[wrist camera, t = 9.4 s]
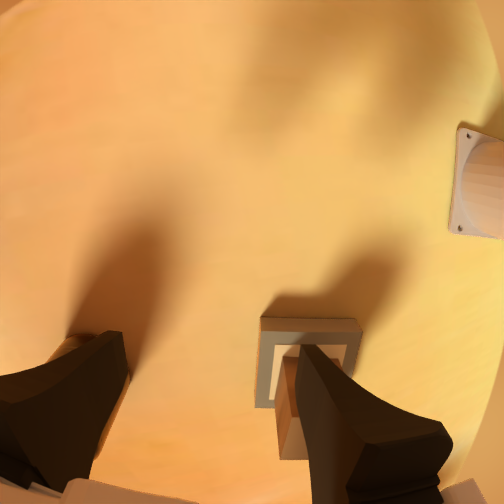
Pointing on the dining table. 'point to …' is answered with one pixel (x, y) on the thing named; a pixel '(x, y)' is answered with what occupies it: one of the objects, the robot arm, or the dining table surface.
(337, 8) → the dining table surface
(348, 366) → the base tile
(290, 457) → the walnut block
